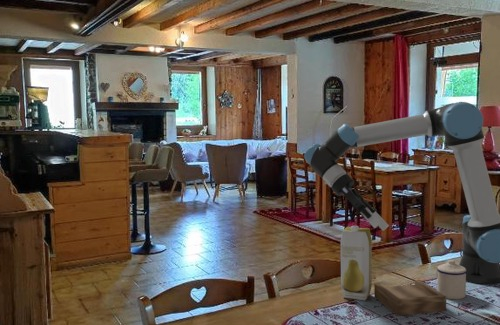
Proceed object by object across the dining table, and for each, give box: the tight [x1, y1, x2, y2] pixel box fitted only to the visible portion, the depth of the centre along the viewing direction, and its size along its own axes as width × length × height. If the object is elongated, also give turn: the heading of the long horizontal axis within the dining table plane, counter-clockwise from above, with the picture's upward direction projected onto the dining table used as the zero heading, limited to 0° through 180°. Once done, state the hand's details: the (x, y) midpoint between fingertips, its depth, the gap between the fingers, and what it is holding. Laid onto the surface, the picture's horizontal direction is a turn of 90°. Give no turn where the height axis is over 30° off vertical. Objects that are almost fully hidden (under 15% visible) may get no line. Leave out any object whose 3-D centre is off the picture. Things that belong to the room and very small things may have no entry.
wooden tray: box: [373, 279, 447, 317], centre depth 157 cm, size 16×16×4 cm
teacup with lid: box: [435, 259, 467, 300], centre depth 164 cm, size 12×9×12 cm
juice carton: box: [340, 225, 373, 301], centre depth 163 cm, size 9×8×24 cm
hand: (382, 227), depth 160 cm, fingers open, 13 cm apart
